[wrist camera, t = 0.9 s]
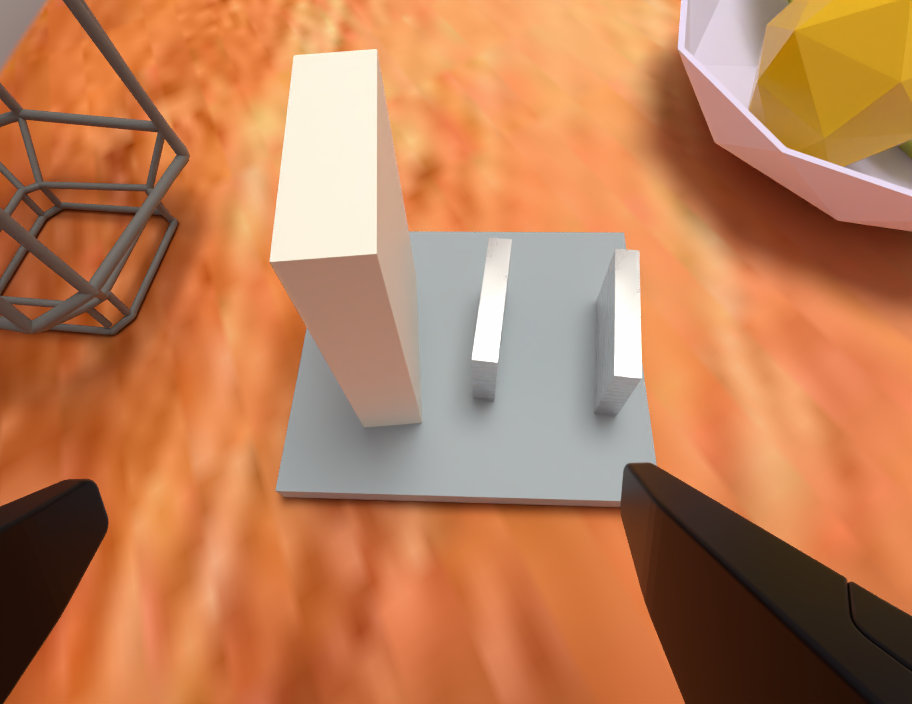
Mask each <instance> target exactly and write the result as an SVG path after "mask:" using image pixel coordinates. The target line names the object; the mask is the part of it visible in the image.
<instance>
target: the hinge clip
mask: <svg viewBox="0 0 912 704" xmlns="http://www.w3.org/2000/svg"><path fill="white" fill-rule="evenodd" d="M511 246H512V239H502V238H490V237H489V242H488V249H487V256H486V263H485V270H484V277H483V284H482V291H481V298H480V305H479V312H478V319H477V326H476V333H475V340H474V347H473V354H472V399H475V400H484V401H492V402H495V393H496V385H497V376H498V368H499V359H500V350H501V342H502V333H503V325H504V316H505V308H506V299H507V290H508V279H509V268H510V257H511ZM641 379H642V359H641V311H640V262H639V251H638V250H626V249H615V251H614V253H613V256H612V259H611V262H610V264H609V267H608V270H607V273H606V275H605V278H604V281H603V283H602V286H601V289H600V292H599V294H598V297H597V300H596V339H595V380H594V414H602V415H611V416H617V415H618V414H619V412H620V411H621V409H622V408H623V406H624V405H625V403H626V402H627V400H628V399H629V397H630V396H631V394H632V392H633V391H634V389H635V388H636V386H637V385H638V383H639V382H640V380H641Z"/></svg>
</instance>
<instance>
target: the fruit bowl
mask: <svg viewBox="0 0 912 704" xmlns="http://www.w3.org/2000/svg"><path fill="white" fill-rule="evenodd" d="M678 51H679V54H680V56H681V59H682V62H683V64H684V67H685V69H686V72H687V74H688V77H689V79H690V82H691V84H692V87H693V89H694V92H695V94H696V97H697V99H698V102H699V105H700V107H701V110H702V112H703V115H704V117H705V120H706V122H707V125H708V127H709V130H710V132H711V135H712V137H713V140H714V142H715V143H716V144H718V145H719V146H721V147H723V148H724V149H726V150H727V151H729V152H730V153H732V154H734V155H735V156H737V157H738V158H740V159H741V160H743V161H745V162H746V163H748V164H749V165H751V166H752V167H754V168H756V169H757V170H759V171H760V172H762V173H764V174H765V175H767V176H768V177H770V178H771V179H773V180H775V181H776V182H778V183H779V184H781V185H782V186H784V187H786V188H787V189H789V190H790V191H792V192H793V193H795V194H797V195H798V196H800V197H801V198H803V199H804V200H806V201H808V202H809V203H811V204H812V205H814V206H816V207H817V208H819V209H820V210H822V211H823V212H825V213H827V214H828V215H830V216H831V217H833V218H834V219H836V220H838V221H843V222H850V223H857V224H864V225H871V226H877V227H884V228H891V229H898V230H905V231H912V0H681V12H680V25H679V38H678Z"/></svg>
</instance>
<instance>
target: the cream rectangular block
mask: <svg viewBox="0 0 912 704" xmlns="http://www.w3.org/2000/svg"><path fill="white" fill-rule="evenodd" d="M270 264H271V265H272V267H273V269H274V271H275V272H276V274H277V276H278V278H279V280H280V281H281V283H282V285H283V287H284V288H285V290H286V292H287V294H288V295H289V297H290V299H291V301H292V302H293V304H294V306H295V308H296V309H297V311H298V313H299V315H300V316H301V318H302V320H303V322H304V323H305V325H306V327H307V329H308V330H309V332H310V334H311V336H312V337H313V339H314V341H315V343H316V344H317V346H318V348H319V350H320V351H321V353H322V355H323V357H324V358H325V360H326V362H327V364H328V365H329V367H330V369H331V371H332V372H333V374H334V376H335V378H336V379H337V381H338V383H339V385H340V386H341V388H342V390H343V392H344V394H345V395H346V397H347V399H348V401H349V402H350V404H351V406H352V408H353V409H354V411H355V413H356V415H357V416H358V418H359V420H360V422H361V423H362V425H363V427H364V428H365V427H378V426H390V425H403V424H416V423H422V402H421V378H420V353H419V329H418V304H417V280H416V271H415V265H414V259H413V254H412V248H411V242H410V236H409V230H408V225H407V219H406V213H405V207H404V202H403V196H402V190H401V184H400V179H399V173H398V167H397V161H396V156H395V150H394V144H393V138H392V132H391V127H390V121H389V115H388V109H387V104H386V98H385V92H384V86H383V81H382V75H381V69H380V63H379V57H378V52H377V49H371V50H358V51H345V52H332V53H319V54H306V55H294V59H293V68H292V76H291V85H290V93H289V101H288V110H287V118H286V127H285V135H284V144H283V152H282V161H281V169H280V178H279V186H278V195H277V203H276V212H275V220H274V228H273V237H272V245H271V254H270Z"/></svg>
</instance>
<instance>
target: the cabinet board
mask: <svg viewBox="0 0 912 704" xmlns="http://www.w3.org/2000/svg"><path fill="white" fill-rule="evenodd" d="M409 236H410V242H411V248H412V254H413V259H414V265H415V271H416V280H417V304H418V329H419V353H420V378H421V402H422V423H416V424H403V425H390V426H378V427H365V428H364V427H363V425H362V423H361V422H360V420H359V418H358V416H357V415H356V413H355V411H354V409H353V408H352V406H351V404H350V402H349V401H348V399H347V397H346V395H345V394H344V392H343V390H342V388H341V386H340V385H339V383H338V381H337V379H336V378H335V376H334V374H333V372H332V371H331V369H330V367H329V365H328V364H327V362H326V360H325V358H324V357H323V355H322V353H321V351H320V350H319V348H318V346H317V344H316V343H315V341H314V339H313V337H312V336H311V334H310V332H309V330H308V329H307V330H306V335H305V340H304V345H303V350H302V356H301V361H300V366H299V371H298V376H297V382H296V387H295V392H294V397H293V402H292V408H291V413H290V418H289V423H288V428H287V434H286V439H285V444H284V449H283V455H282V460H281V465H280V470H279V475H278V481H277V486H276V492H278V493H279V494H281V495H282V496H284V497H296V498H330V499H363V500H397V501H431V502H464V503H498V504H531V505H565V506H598V507H620V503H621V491H622V479H623V470H624V467H625V465H626V464H627V463H640V462H649V463H652V464H654V465H656V458H655V451H654V444H653V437H652V430H651V422H650V415H649V408H648V401H647V394H646V387H645V380H644V372H643V365H642V379H641V380H640V382H639V383H638V385H637V386H636V388H635V389H634V391H633V392H632V394H631V396H630V397H629V399H628V400H627V402H626V403H625V405H624V406H623V408H622V409H621V411H620V412H619V414H618V415H617V416H611V415H602V414H594V380H595V339H596V300H597V297H598V294H599V292H600V289H601V286H602V283H603V281H604V278H605V275H606V273H607V270H608V267H609V264H610V262H611V259H612V256H613V253H614V251H615V249H626V244H625V237H624V233H584V232H409ZM489 237H490V238H502V239H512V246H511V257H510V268H509V279H508V290H507V299H506V308H505V316H504V325H503V333H502V342H501V350H500V359H499V368H498V376H497V385H496V393H495V402H492V401H484V400H475V399H472V354H473V347H474V340H475V333H476V326H477V319H478V312H479V305H480V298H481V291H482V284H483V277H484V270H485V263H486V256H487V249H488V242H489ZM641 359H642V358H641ZM656 466H657V465H656Z"/></svg>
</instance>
